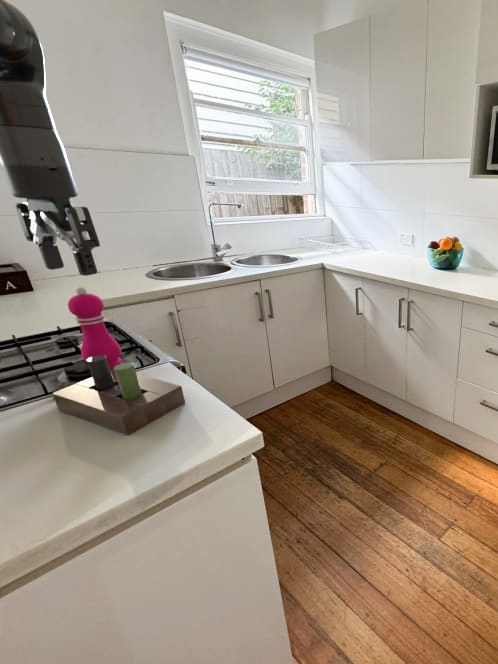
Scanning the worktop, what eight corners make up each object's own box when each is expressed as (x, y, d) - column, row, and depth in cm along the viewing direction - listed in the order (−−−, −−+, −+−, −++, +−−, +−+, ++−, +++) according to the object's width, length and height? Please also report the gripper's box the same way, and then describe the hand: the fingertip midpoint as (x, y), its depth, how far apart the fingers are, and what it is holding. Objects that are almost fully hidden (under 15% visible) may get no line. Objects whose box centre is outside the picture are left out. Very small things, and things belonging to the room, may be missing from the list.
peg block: (127, 435, 68) (121, 417, 66) (58, 410, 74) (51, 393, 73) (185, 402, 78) (181, 385, 77) (120, 383, 84) (115, 367, 83)
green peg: (124, 413, 74) (109, 367, 70) (139, 405, 77) (126, 361, 73) (135, 416, 73) (120, 371, 69) (150, 408, 76) (137, 364, 72)
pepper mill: (133, 364, 93) (109, 284, 85) (106, 378, 86) (78, 293, 78) (108, 360, 94) (82, 281, 86) (79, 374, 87) (48, 290, 79)
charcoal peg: (98, 404, 77) (82, 360, 73) (113, 397, 79) (99, 354, 75) (108, 407, 76) (92, 363, 72) (123, 400, 78) (109, 356, 74)
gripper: (-26, 161, 55) (18, 271, 62) (34, 163, 51) (74, 282, 57) (36, 163, 62) (70, 262, 68) (95, 164, 57) (125, 271, 64)
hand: (72, 271), depth 63 cm, fingers open, 8 cm apart
